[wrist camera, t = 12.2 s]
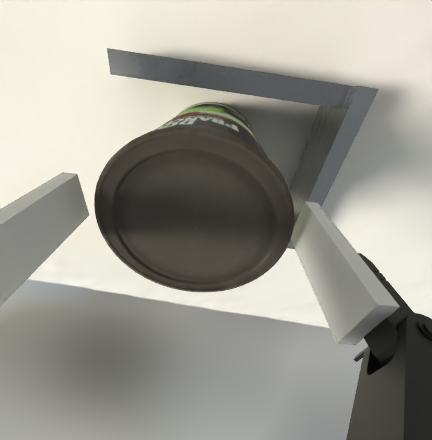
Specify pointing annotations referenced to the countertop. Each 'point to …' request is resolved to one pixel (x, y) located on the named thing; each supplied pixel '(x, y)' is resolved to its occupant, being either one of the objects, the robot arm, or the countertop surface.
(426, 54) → the countertop surface
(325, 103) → the grey u-shaped frame
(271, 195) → the coffee can
